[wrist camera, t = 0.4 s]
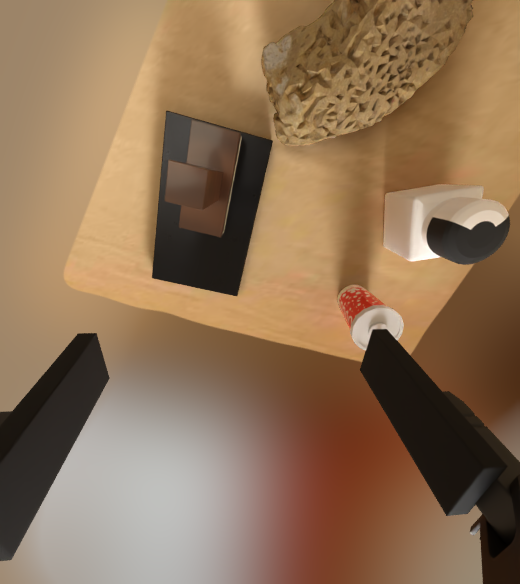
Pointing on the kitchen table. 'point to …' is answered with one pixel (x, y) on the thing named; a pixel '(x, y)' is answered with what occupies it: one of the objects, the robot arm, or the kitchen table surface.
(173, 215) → the panel
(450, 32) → the sponge
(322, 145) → the kitchen table surface
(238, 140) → the brown block
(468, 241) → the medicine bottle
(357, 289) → the beverage cup
